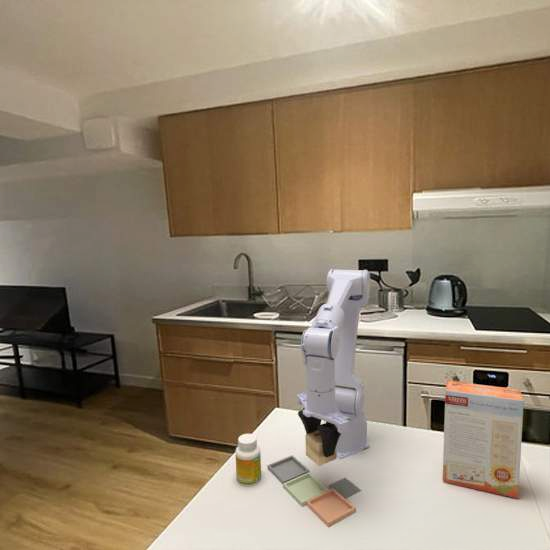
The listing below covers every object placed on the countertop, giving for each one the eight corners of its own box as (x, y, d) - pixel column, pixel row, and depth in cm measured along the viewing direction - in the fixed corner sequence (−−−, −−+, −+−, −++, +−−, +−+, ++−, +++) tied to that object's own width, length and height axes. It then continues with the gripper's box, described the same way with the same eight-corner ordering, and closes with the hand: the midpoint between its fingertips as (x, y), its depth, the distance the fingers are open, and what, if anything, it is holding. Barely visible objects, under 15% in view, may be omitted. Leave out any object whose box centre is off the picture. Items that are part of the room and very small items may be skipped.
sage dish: (308, 476, 88) (308, 472, 87) (328, 494, 82) (328, 489, 82) (283, 488, 84) (282, 483, 84) (301, 507, 78) (301, 502, 78)
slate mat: (345, 478, 87) (345, 477, 87) (361, 491, 82) (361, 490, 82) (327, 487, 84) (327, 486, 84) (343, 501, 80) (343, 500, 80)
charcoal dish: (292, 459, 94) (292, 455, 94) (309, 474, 88) (309, 470, 88) (267, 469, 90) (267, 465, 90) (283, 486, 85) (283, 481, 85)
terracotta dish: (332, 492, 82) (332, 488, 82) (355, 513, 77) (355, 508, 76) (306, 506, 79) (306, 501, 79) (328, 528, 73) (328, 523, 73)
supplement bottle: (258, 489, 84) (256, 446, 83) (233, 486, 85) (231, 444, 84) (263, 473, 89) (262, 432, 88) (240, 470, 90) (238, 430, 89)
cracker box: (514, 481, 84) (521, 388, 81) (518, 500, 79) (525, 401, 76) (442, 466, 90) (446, 378, 87) (441, 482, 85) (445, 389, 82)
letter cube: (323, 447, 85) (322, 428, 84) (336, 458, 81) (336, 438, 81) (305, 454, 83) (305, 434, 82) (319, 466, 79) (318, 445, 78)
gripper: (284, 378, 84) (285, 438, 86) (327, 406, 72) (328, 475, 74) (311, 371, 87) (312, 428, 90) (357, 396, 75) (357, 462, 77)
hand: (321, 449), depth 82 cm, fingers closed on letter cube, 4 cm apart
